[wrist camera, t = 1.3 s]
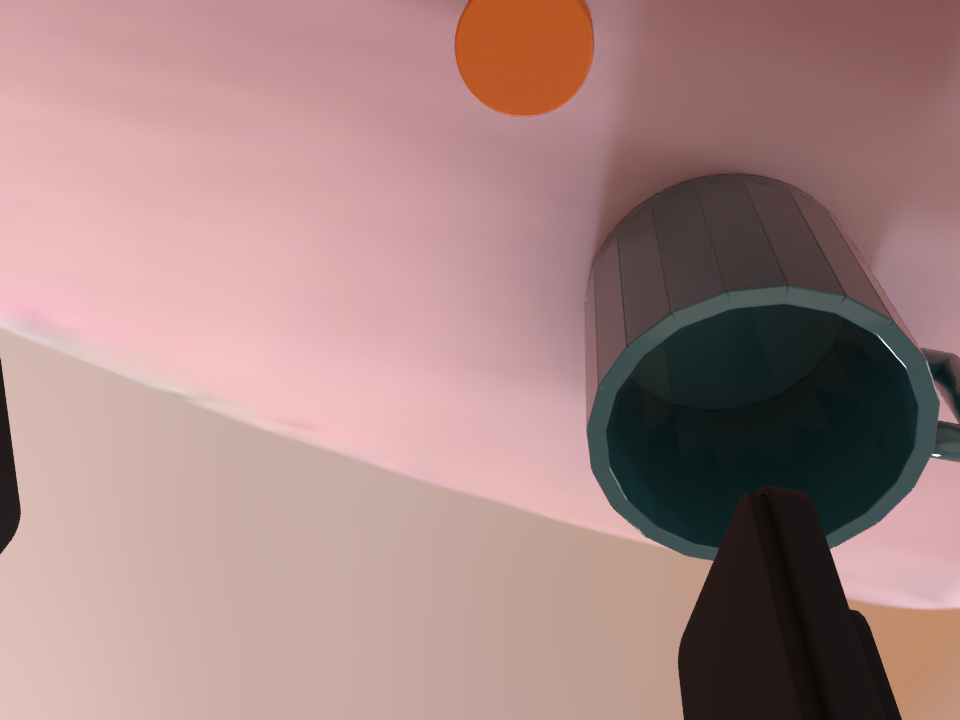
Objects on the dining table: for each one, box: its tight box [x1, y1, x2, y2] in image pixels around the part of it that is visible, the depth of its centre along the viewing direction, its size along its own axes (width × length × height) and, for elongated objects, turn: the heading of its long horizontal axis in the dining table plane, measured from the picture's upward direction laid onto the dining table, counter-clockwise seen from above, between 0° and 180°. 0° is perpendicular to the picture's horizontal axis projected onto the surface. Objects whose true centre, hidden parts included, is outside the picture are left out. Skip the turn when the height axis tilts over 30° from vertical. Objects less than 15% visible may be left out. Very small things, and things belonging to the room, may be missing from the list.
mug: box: [585, 174, 960, 561], centre depth 31 cm, size 14×10×9 cm
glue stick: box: [455, 0, 594, 117], centre depth 26 cm, size 3×3×9 cm
